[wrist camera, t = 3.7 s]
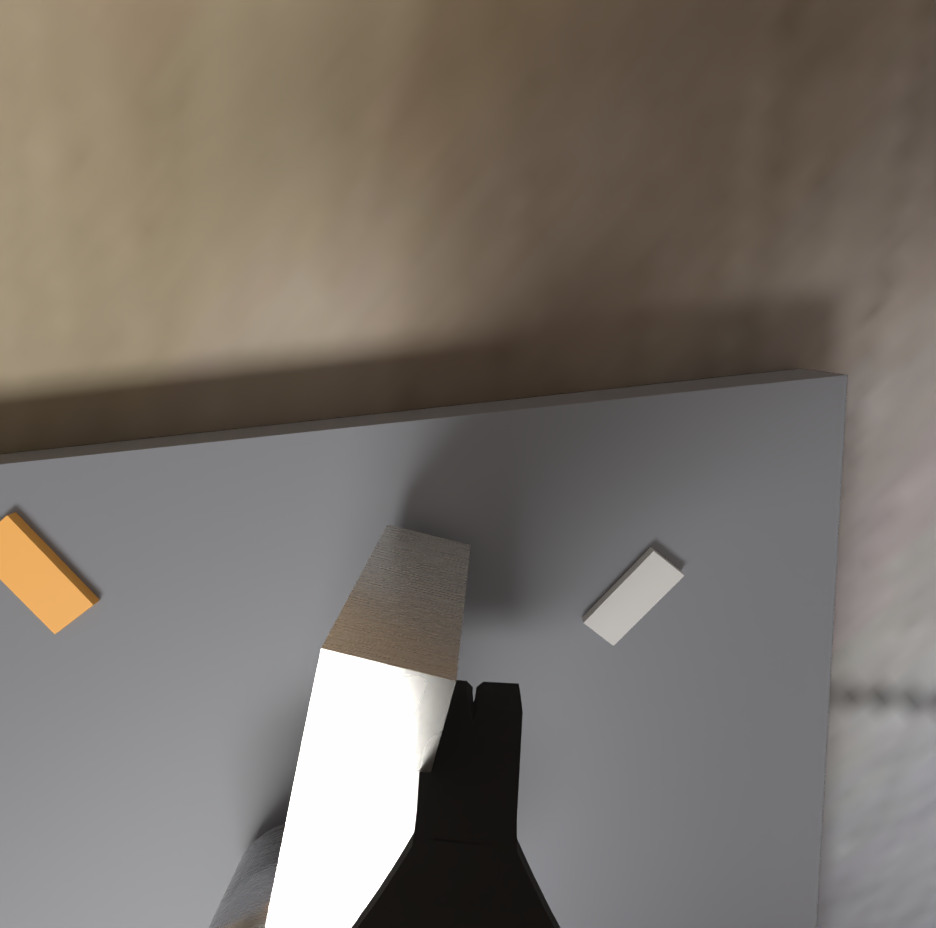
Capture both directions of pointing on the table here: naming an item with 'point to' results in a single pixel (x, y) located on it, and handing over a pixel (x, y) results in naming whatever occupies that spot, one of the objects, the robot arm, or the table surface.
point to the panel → (481, 646)
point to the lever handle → (361, 742)
